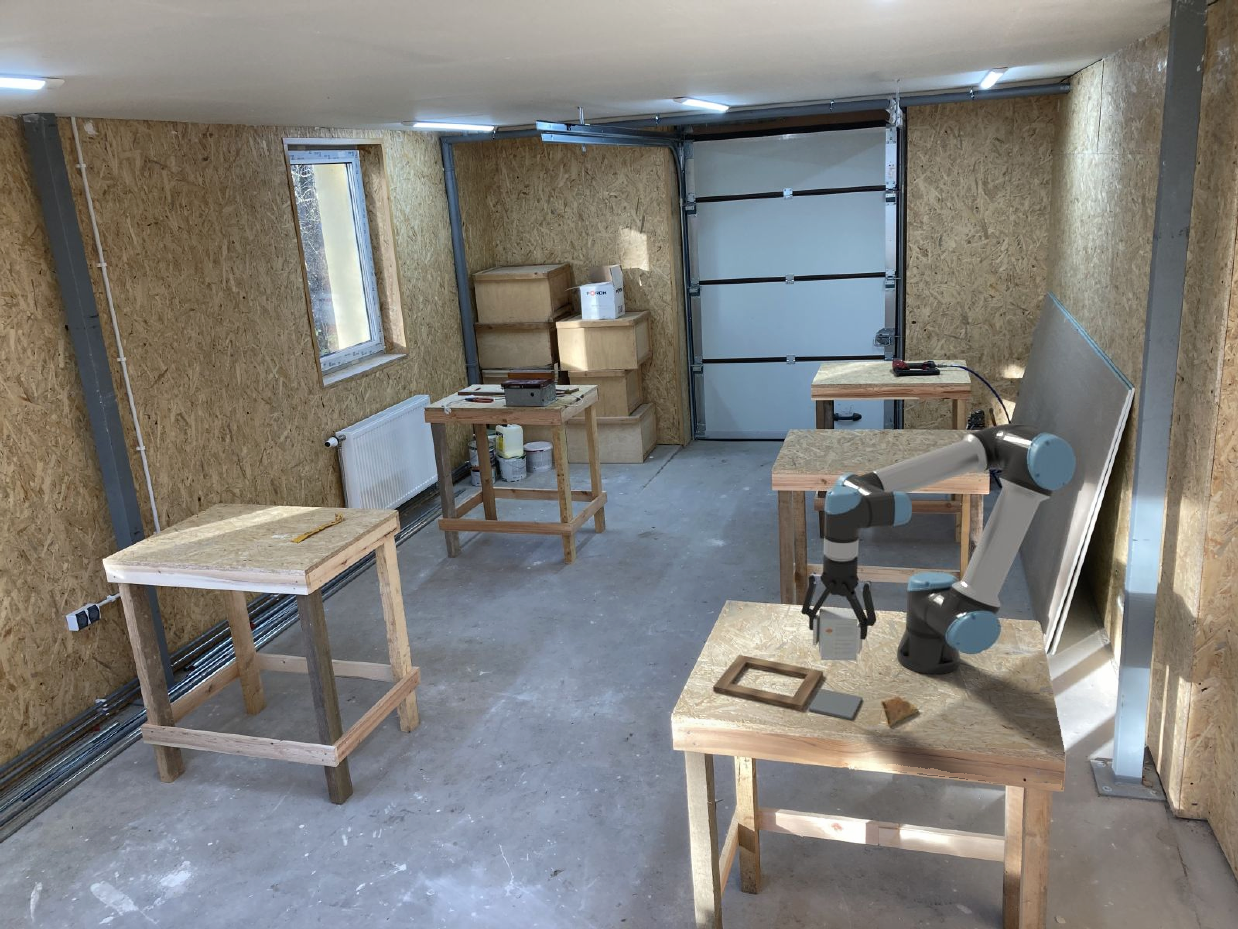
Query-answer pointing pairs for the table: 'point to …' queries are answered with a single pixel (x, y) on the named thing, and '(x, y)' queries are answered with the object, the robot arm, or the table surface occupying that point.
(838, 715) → the pad
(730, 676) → the wooden picture frame
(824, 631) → the small box
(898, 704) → the shard
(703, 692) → the table surface
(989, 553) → the robot arm
